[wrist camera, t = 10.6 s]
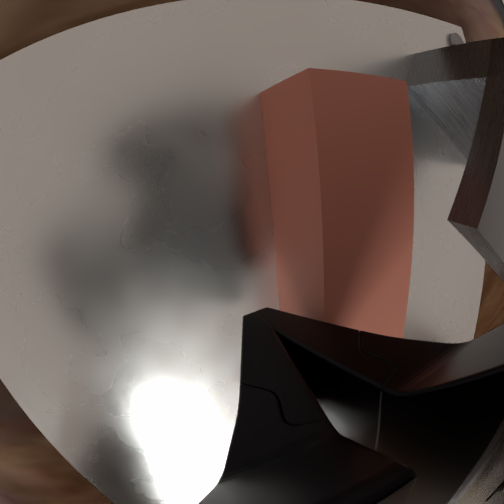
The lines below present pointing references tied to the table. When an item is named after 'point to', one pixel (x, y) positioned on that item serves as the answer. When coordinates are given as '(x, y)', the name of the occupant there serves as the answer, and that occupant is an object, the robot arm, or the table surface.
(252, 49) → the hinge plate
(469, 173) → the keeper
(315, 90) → the link
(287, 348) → the robot arm
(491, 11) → the table surface
